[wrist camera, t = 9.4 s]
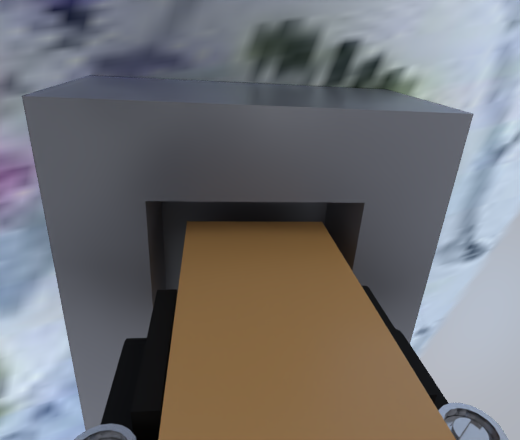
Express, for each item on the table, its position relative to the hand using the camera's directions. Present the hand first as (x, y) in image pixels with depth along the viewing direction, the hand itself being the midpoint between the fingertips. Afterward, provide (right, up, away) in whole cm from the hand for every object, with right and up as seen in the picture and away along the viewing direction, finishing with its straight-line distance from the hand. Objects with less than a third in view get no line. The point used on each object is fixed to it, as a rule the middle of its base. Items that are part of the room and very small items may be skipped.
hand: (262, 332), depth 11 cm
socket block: (-1, +3, +7) cm, 8 cm away
